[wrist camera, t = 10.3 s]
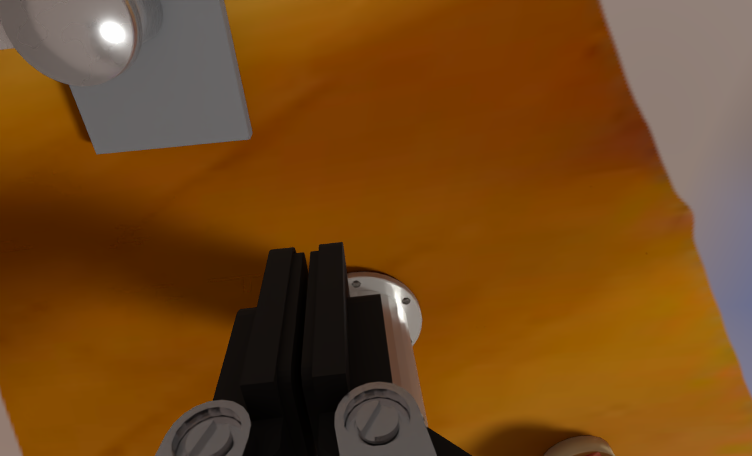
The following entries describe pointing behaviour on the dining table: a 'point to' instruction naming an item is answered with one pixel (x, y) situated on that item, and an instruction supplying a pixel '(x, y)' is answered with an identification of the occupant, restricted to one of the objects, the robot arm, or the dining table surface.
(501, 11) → the dining table surface
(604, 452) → the cake
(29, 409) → the dining table surface
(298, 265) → the robot arm
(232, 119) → the base plate
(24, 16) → the lever
